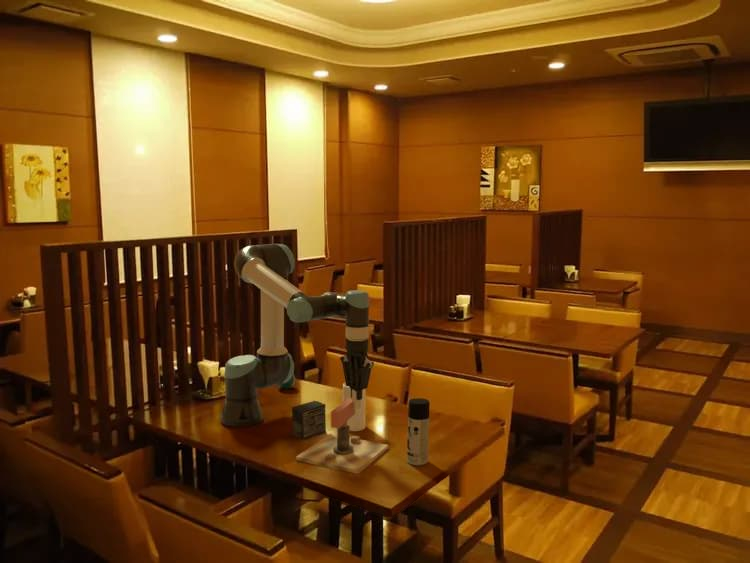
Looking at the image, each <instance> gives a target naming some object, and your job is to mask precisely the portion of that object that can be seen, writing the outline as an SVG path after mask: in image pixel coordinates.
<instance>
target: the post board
mask: <svg viewBox="0 0 750 563" xmlns="http://www.w3.org/2000/svg"><path fill="white" fill-rule="evenodd" d="M336 429H337V430H336V432H337V433H336V434H335V433H328V434H327V435H326V436H323V438H321V439H320V440H319V441H317V442H316V443H314V444H312V445H311V446H310V447H308V448H306V449H305V450H304V451H302V452H301V453H299V454H298V455H296V457H295V459H296V461H299V462H302V463H306V464H311V465H315V466H321V467H324V468H329V469H333V470H337V471H343V472H346V473H351V474H356V475H359V474H360V473H361V472H362V471H364V470H365V469H367V467H369V465H371V464H372V463H373V462H374V461H375V460H376V459H377V458H378V457H380V456H381V455H382V454H383V453H384V452H386V451H387V450H388V449H389V444H386V443H380V442H377V441H376V442H375V441H370V440H365V439H361V436H358V435H352V436H350V435H351V434H350V433H351V431H350V426H348V425H347V427H344V428H343V427H339V428H336Z"/></svg>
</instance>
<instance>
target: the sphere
mask: <svg viewBox="0 0 750 563" xmlns="http://www.w3.org/2000/svg"><path fill="white" fill-rule="evenodd" d="M295 382H296V377H295V374H294V373H293V375H292V377H291V378H290V379H289V381H287V382H285V383H282V384H280V385H278V387H280V388H281V389H283V390H284V389H290V388H292V387H293V386H294V385H295Z"/></svg>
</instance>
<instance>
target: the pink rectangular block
mask: <svg viewBox="0 0 750 563" xmlns="http://www.w3.org/2000/svg"><path fill="white" fill-rule="evenodd" d="M353 415H355V410H353V401H352V399H350V398H348V399H347V400H345V401H344V402H343V401H342V402H341V403H340V404H339V405H338V406H336V407H335V408H334V409H332V410H331V412H330V427H331V428H336V429H337V428H339V427H343V428H344V427H347V421H348V420H349V419H350V418H351V417H352V416H353Z"/></svg>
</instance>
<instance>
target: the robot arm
mask: <svg viewBox="0 0 750 563" xmlns="http://www.w3.org/2000/svg"><path fill="white" fill-rule="evenodd" d="M295 261H296V260H295V257H294V254H293V252H292V250H291V248H289V246H287V245H285V244H282V243H267V244H256V245H254V244H253V245H247V246H245V247H243V248H241V249H240V250H239V251H238V252H237V254H236V255H235V257H234V261H233V267H234V270H235V272H236V274H237V276H238V277H239V278H241V280H243V282H245V283H247V284H253V285H255V286H256V287H257V288H258V289H259V290H260V347H259V348H258V349H257V351H256V356H255V355H253V354H245V355H238V356H234V357H232V358H230V359H228V360H227V361H226V363H225V364H224V365H225V367H224V387H225V389H224V390H225V391H224V392H225V401H224V404H223V408H222V411H221V415H220V422H221V424H223V425H225V426H226V427H227V426H228V427H232V428H233V427H234V428H245V427H250V426H254V425H258V424H260V423H261V422H262V421H263V418H264V416H263V414H264V413H263V411H262V409H261V405H260V402H259V400H258V399H259V398H258V397H259V396H258V395H259V394H258V392H259V391H258V390H261V389H265V388H270V387H274V386H279V385H280V384H282V383H285V382H287V381H289V379H290V378H291V377H292V375H293V374H294V371H295V364H294V360H293V357H292V355H291V354H290V353H289V352H288V349H287V347H285V346H284V344H285V342H284V341H285V340H284V338H285V335H284V334H285V332H284V331H285V323H284V322H285V309H286V314H287V316H288V317H289V320H290V321H291V322H293V323H307V322H312V321H316V320H322V319H323V320H324V319H328V318H335V317H338V318H343V319H345V346H344V347H345V351H346V352H345V355H343V356H340V361H341V364H342V370H343V375H344V383H345V382H346V386H349V387H350V389H351V398H352V401H353V410H357V409H359V408H361V399H362V390H364V389H368V387H369V381H370V377H371V373H372V368H373V367H374V365H375V363H374V361H370V360H369V355H368V351H369V347H370V346H369V344H370V343H369V337H370V336H369V335H370V334H369V333H370V331H369V328H370V295H369V293H368V291H365V290H358V289H356V290H355V289H353V290H348V291H346V292H345V294H342V293H338V292H335V291H333V292H331V291H327V292H324V293H323V294H322V295H314V296H309V295H308V294H307V293H305V292H303V291H302V290H301V289H299V288H298V287H296V286H295V285H294V284H292V283H291V282H290V281H289V275H290V274H291V273H293V271H294V269H295V264H296V262H295Z"/></svg>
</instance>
